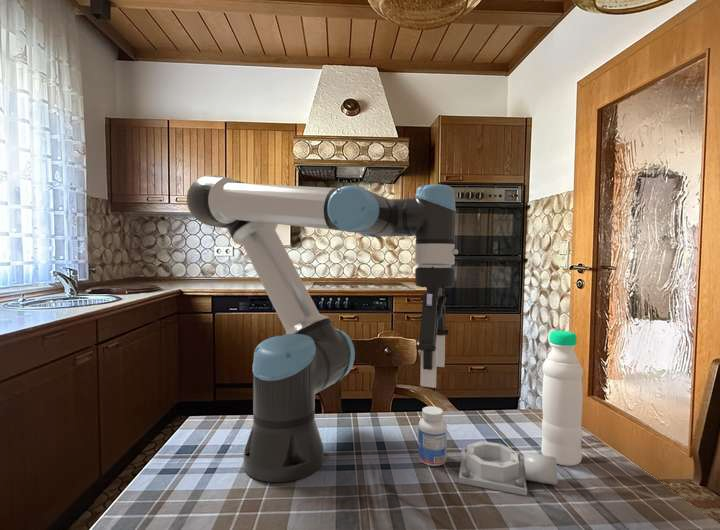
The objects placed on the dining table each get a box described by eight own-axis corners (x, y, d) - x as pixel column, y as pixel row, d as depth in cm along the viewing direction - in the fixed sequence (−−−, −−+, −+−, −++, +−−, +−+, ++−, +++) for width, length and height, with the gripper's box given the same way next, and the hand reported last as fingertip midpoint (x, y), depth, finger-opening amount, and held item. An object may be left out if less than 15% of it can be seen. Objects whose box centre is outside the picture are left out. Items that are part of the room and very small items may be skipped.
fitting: (458, 483, 67) (459, 458, 67) (462, 453, 78) (463, 431, 78) (560, 502, 62) (561, 475, 62) (550, 467, 73) (550, 444, 72)
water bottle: (587, 469, 72) (589, 336, 71) (546, 465, 73) (548, 334, 73) (574, 451, 79) (576, 329, 78) (537, 447, 80) (539, 327, 80)
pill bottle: (422, 450, 79) (422, 402, 79) (448, 455, 77) (449, 407, 76) (415, 463, 74) (415, 412, 74) (443, 469, 72) (443, 417, 71)
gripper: (448, 268, 61) (446, 399, 62) (459, 265, 85) (458, 361, 86) (402, 267, 64) (400, 394, 64) (425, 265, 88) (424, 357, 88)
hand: (433, 375), depth 75 cm, fingers open, 13 cm apart
